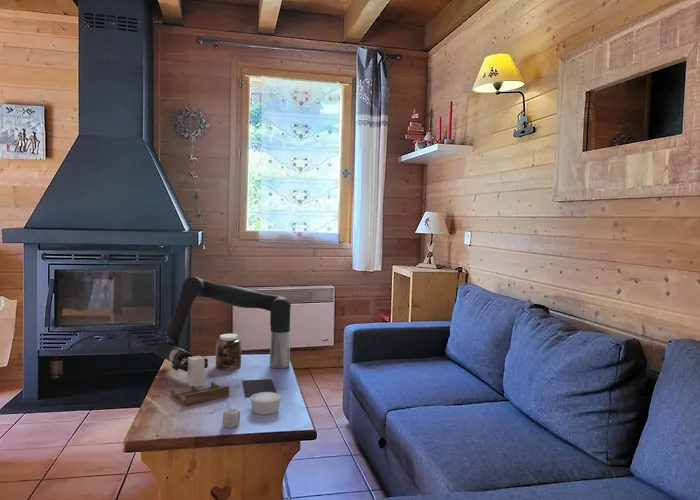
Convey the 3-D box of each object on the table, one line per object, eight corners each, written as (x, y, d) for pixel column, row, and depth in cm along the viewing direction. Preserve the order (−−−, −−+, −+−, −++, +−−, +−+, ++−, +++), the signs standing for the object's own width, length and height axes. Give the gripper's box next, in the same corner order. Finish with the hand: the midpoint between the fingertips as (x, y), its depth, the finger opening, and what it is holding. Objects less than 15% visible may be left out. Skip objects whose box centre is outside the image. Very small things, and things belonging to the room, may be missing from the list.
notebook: (241, 383, 221) (244, 401, 201) (242, 380, 221) (244, 397, 201) (271, 382, 225) (277, 399, 204) (271, 378, 225) (277, 395, 204)
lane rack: (171, 397, 201) (171, 385, 201) (212, 388, 212) (212, 377, 212) (186, 408, 191) (186, 395, 190) (228, 398, 202) (228, 386, 202)
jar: (215, 363, 248) (216, 333, 247) (240, 362, 250) (241, 332, 249) (215, 371, 236) (215, 338, 235) (241, 369, 239) (241, 338, 238)
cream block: (187, 385, 214) (188, 357, 213) (199, 383, 217) (199, 355, 217) (192, 388, 210) (193, 360, 210) (204, 386, 214) (204, 358, 213)
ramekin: (251, 404, 197) (252, 391, 196) (281, 404, 198) (281, 391, 197) (248, 416, 185) (248, 402, 185) (279, 416, 186) (280, 402, 186)
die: (222, 427, 175) (222, 413, 175) (225, 421, 180) (225, 407, 180) (236, 428, 175) (237, 413, 175) (239, 422, 180) (240, 408, 180)
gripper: (165, 352, 220) (180, 361, 208) (196, 347, 229) (213, 355, 217) (164, 369, 221) (180, 379, 208) (196, 364, 230) (212, 373, 218)
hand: (196, 367), depth 213 cm, fingers open, 8 cm apart
